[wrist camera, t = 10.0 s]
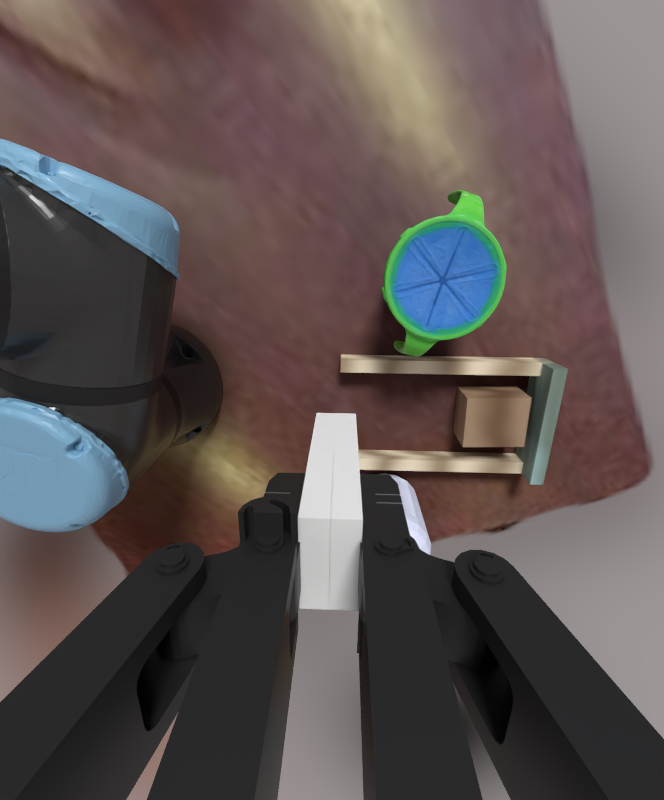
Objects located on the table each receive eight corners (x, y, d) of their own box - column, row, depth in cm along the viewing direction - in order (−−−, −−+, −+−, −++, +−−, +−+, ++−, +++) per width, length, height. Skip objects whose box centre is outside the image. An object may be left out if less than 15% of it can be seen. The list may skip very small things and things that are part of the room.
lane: (338, 459, 52) (338, 479, 47) (340, 354, 47) (340, 365, 43) (524, 463, 52) (542, 484, 47) (545, 358, 47) (567, 369, 42)
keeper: (452, 431, 51) (462, 447, 46) (456, 386, 49) (467, 398, 44) (508, 430, 50) (524, 446, 46) (515, 385, 48) (531, 397, 44)
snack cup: (414, 181, 41) (434, 159, 32) (502, 226, 42) (549, 217, 33) (350, 321, 46) (352, 338, 37) (431, 357, 47) (454, 383, 38)
